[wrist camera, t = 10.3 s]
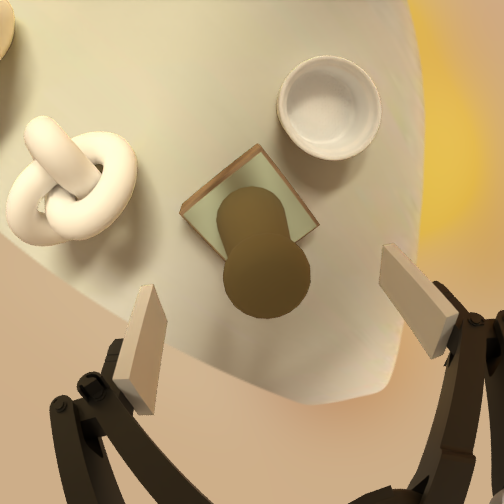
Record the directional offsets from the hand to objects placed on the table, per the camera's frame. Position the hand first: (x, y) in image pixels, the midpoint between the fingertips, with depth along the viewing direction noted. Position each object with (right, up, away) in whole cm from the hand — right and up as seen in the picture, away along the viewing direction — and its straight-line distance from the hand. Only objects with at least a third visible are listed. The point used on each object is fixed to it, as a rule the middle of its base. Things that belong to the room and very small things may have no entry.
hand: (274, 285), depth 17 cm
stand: (-1, +6, +12) cm, 14 cm away
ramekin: (+5, +15, +9) cm, 18 cm away
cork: (-1, +5, +10) cm, 11 cm away
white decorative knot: (-16, +10, +9) cm, 21 cm away
